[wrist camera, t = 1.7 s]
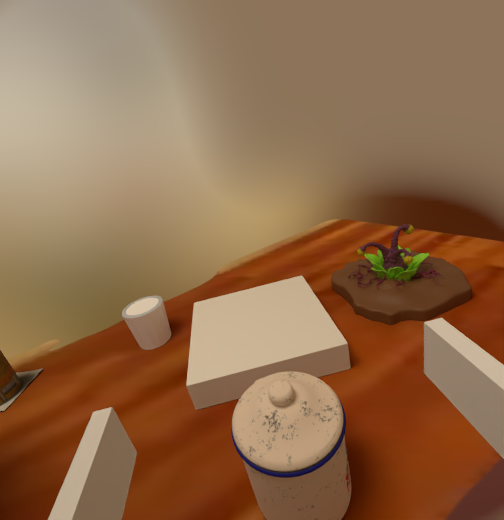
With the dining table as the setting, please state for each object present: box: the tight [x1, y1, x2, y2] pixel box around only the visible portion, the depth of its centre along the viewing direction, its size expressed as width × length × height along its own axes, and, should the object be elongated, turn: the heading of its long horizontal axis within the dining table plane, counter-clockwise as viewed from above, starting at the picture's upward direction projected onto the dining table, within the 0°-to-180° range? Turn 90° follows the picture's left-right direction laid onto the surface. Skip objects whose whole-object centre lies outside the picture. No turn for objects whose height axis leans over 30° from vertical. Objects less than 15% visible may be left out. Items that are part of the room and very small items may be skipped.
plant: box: [332, 224, 471, 325], centre depth 51 cm, size 20×20×11 cm
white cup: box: [122, 296, 171, 350], centre depth 53 cm, size 7×7×7 cm
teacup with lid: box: [232, 371, 351, 520], centre depth 27 cm, size 12×9×12 cm
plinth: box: [186, 276, 351, 410], centre depth 47 cm, size 20×20×4 cm
